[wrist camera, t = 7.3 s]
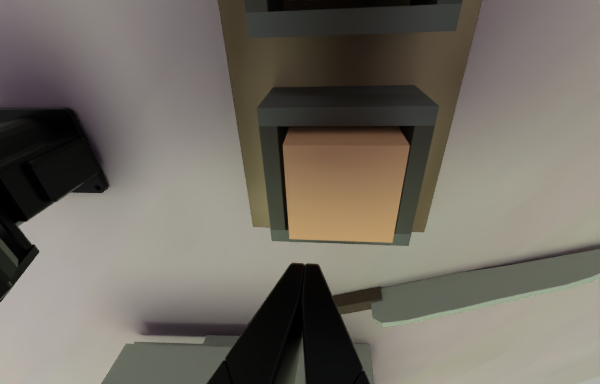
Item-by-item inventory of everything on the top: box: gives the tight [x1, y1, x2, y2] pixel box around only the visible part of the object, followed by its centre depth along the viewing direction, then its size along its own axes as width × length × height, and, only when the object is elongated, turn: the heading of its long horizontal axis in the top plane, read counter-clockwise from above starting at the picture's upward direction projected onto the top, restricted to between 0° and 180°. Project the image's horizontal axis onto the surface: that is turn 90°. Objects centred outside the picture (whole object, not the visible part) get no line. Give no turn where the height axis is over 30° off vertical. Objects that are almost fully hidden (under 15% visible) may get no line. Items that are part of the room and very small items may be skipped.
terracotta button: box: [283, 126, 410, 243], centre depth 14 cm, size 5×5×4 cm
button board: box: [218, 0, 482, 246], centre depth 14 cm, size 12×22×6 cm, turn 2°
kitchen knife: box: [333, 249, 600, 327], centre depth 23 cm, size 4×1×30 cm
